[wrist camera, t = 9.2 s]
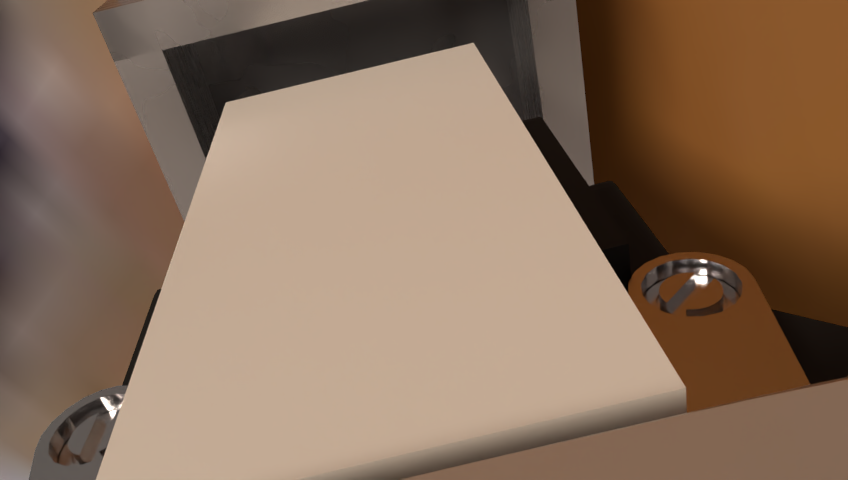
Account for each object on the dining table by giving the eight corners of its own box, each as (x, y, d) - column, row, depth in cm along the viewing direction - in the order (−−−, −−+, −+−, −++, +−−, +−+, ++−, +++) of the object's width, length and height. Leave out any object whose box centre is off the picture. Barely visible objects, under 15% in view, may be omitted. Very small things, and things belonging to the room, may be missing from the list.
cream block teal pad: (473, 42, 12) (686, 387, 5) (522, 327, 15) (697, 793, 8) (225, 102, 12) (77, 531, 5) (326, 375, 15) (324, 878, 8)
